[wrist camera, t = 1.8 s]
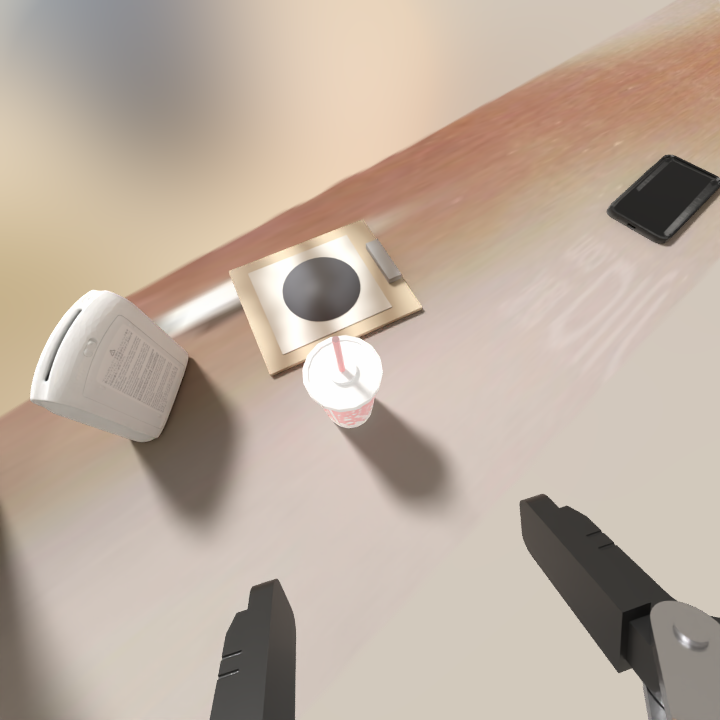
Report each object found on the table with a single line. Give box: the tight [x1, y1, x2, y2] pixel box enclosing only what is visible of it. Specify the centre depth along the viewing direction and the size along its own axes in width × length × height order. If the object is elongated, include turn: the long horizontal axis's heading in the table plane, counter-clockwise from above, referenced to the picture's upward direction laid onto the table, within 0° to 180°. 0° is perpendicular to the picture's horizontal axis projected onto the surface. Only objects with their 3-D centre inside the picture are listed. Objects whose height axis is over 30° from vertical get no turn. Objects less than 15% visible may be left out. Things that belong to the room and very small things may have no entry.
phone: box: [607, 155, 720, 243], centre depth 44 cm, size 8×1×15 cm
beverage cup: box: [302, 335, 383, 428], centre depth 28 cm, size 6×6×14 cm
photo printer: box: [30, 290, 188, 442], centre depth 30 cm, size 10×4×12 cm, turn 173°
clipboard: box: [229, 219, 422, 376], centre depth 39 cm, size 18×15×1 cm
